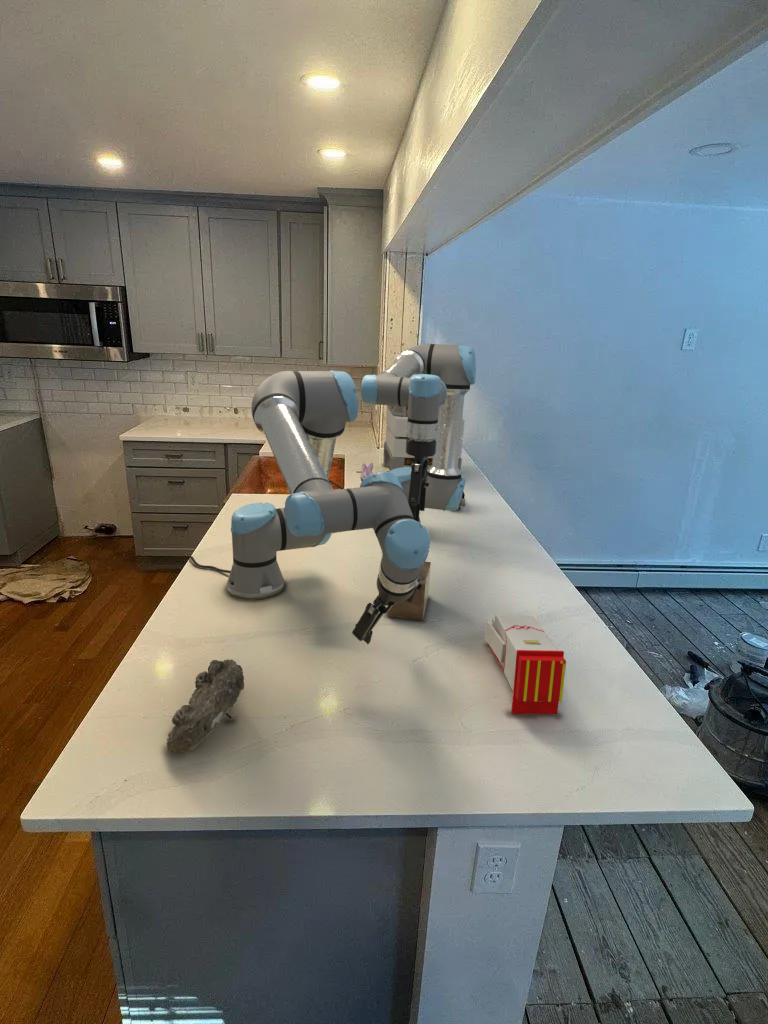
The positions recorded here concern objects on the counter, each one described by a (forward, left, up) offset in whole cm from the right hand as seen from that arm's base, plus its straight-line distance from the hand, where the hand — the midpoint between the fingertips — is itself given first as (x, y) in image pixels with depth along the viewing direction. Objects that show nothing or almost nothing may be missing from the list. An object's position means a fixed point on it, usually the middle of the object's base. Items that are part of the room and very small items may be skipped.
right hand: (416, 518), depth 148 cm
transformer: (-90, +90, -23) cm, 129 cm away
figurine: (-73, +44, -23) cm, 88 cm away
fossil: (+12, -63, -23) cm, 68 cm away
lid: (+3, -3, -14) cm, 15 cm away
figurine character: (-46, +67, -23) cm, 85 cm away
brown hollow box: (+3, -4, -23) cm, 24 cm away
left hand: (+17, -25, -13) cm, 33 cm away
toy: (+39, -5, -23) cm, 46 cm away
